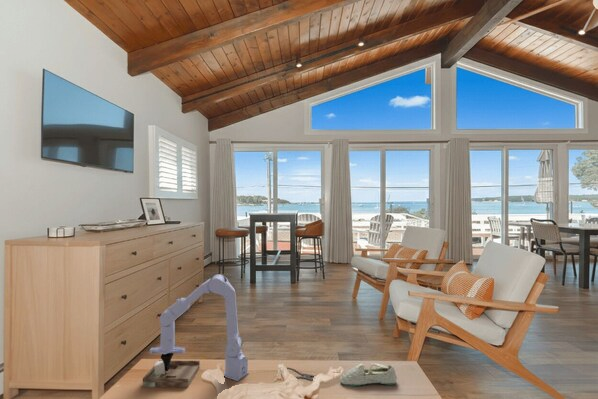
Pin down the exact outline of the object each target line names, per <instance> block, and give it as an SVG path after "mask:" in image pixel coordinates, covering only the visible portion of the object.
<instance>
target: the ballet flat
mask: <svg viewBox="0 0 598 399" xmlns="http://www.w3.org/2000/svg"><path fill="white" fill-rule="evenodd" d="M373 366H375V367H376V368H372V367H373ZM397 379H398V376H397V374H396V369H395V367H394V365H390V364H388V366H386V365H384V364H382V363H378V362H377V363H375V362H371V363H370V365H369V368H365V365H364V364H363V363H361V362H360V363H359V364H357V365H356V366H353V367H352V368H349V370H346V371H345V372H343V374H341V375H340V378H339V382H340V384H341V385H343V384H344V385H343V386H347V385H349V386H350V387H351V386H352V387H358V386H362V385H369V384H382V385H390V386H392V385H393V384H394V385H395V384H396V382H397ZM394 385H393V386H394Z"/></svg>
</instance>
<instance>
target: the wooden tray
mask: <svg viewBox="0 0 598 399" xmlns="http://www.w3.org/2000/svg"><path fill="white" fill-rule="evenodd" d="M158 361H163V360H162V359H161V360H160V359H159V360H158ZM200 361H201V360H181V359H180V360H178V359H177V360H172V359H171V361H170V369H169V370H168V371H166V373H165V374H161V375H155V370H154V366H152V367H151V369H150V370H149V371H148V372H147V373H146V374H145V375H144V377H143V378H142V388H189V386H190V385H191V384H192V382H193V380H194V379H195V378H196V375H197V373H198V372H199V370H200V365H201V363H200Z"/></svg>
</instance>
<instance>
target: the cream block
mask: <svg viewBox="0 0 598 399" xmlns="http://www.w3.org/2000/svg"><path fill="white" fill-rule="evenodd" d="M153 367H154V370H155V375H161V374H165V373H166V371H165V365H164V362H163V361H159V360H158V361H156V362H155V364H154V365H153Z"/></svg>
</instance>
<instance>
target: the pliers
mask: <svg viewBox="0 0 598 399" xmlns="http://www.w3.org/2000/svg"><path fill="white" fill-rule="evenodd" d="M287 370H291V371H293V372H295V373H297V374H299V375H300V376H295V377H296V378H297V379H303V380H308V381H310V382H313V381H312V380H313V378H314V376H315V375H313V374H308V373H302V372H300V371H298V370H297V369H295V368H292V367H287Z"/></svg>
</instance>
